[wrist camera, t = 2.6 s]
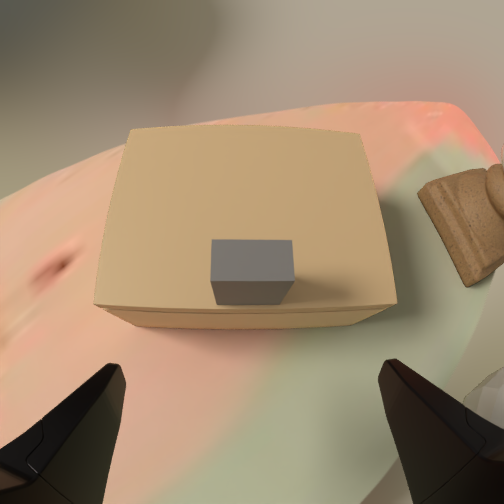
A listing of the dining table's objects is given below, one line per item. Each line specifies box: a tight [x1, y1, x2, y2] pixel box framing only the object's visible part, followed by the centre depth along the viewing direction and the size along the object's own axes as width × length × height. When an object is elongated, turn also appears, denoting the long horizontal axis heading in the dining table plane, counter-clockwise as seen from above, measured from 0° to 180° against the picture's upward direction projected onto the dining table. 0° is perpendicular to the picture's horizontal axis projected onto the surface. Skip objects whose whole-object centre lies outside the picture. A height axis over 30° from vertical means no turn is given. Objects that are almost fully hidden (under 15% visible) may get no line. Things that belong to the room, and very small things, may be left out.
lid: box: [93, 125, 397, 313], centre depth 15 cm, size 12×16×5 cm
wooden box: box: [103, 308, 387, 329], centre depth 21 cm, size 12×16×6 cm
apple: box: [463, 367, 504, 429], centre depth 16 cm, size 8×8×7 cm
